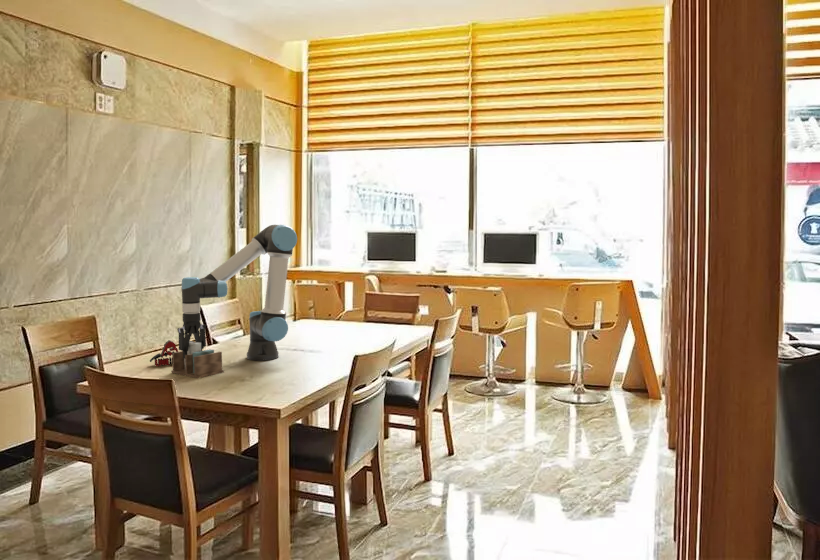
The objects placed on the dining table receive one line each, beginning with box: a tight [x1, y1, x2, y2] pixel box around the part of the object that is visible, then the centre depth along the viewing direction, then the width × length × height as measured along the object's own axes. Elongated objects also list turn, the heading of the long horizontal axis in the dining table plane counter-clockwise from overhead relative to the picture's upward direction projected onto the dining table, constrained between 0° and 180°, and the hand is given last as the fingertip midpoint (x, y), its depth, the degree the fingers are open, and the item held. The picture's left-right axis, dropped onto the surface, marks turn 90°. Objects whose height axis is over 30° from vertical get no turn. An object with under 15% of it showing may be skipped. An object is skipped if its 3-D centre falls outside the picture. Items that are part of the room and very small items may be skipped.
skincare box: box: [188, 341, 201, 354], centre depth 314 cm, size 6×4×12 cm
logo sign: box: [149, 339, 179, 367], centre depth 330 cm, size 18×4×11 cm, turn 117°
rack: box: [171, 349, 225, 379], centre depth 312 cm, size 14×18×10 cm
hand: (193, 364), depth 314 cm, fingers open, 5 cm apart
